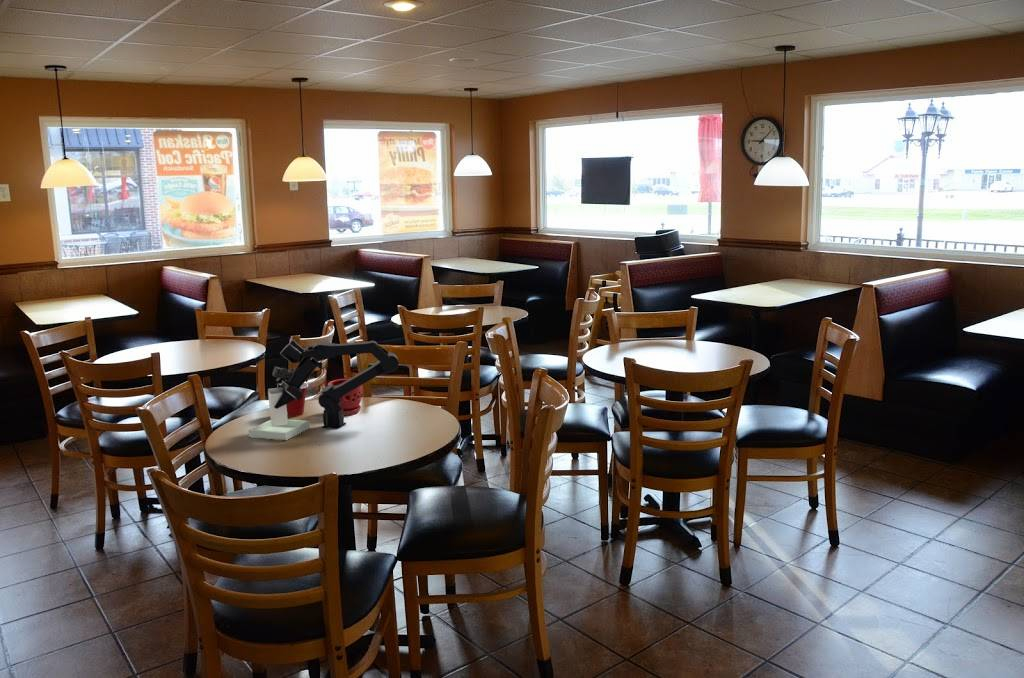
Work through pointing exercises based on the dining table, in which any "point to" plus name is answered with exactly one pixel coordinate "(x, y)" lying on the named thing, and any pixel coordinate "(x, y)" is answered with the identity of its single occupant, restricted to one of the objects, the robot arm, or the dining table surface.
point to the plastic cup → (297, 403)
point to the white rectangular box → (278, 414)
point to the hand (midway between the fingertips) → (273, 406)
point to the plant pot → (349, 398)
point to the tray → (279, 430)
